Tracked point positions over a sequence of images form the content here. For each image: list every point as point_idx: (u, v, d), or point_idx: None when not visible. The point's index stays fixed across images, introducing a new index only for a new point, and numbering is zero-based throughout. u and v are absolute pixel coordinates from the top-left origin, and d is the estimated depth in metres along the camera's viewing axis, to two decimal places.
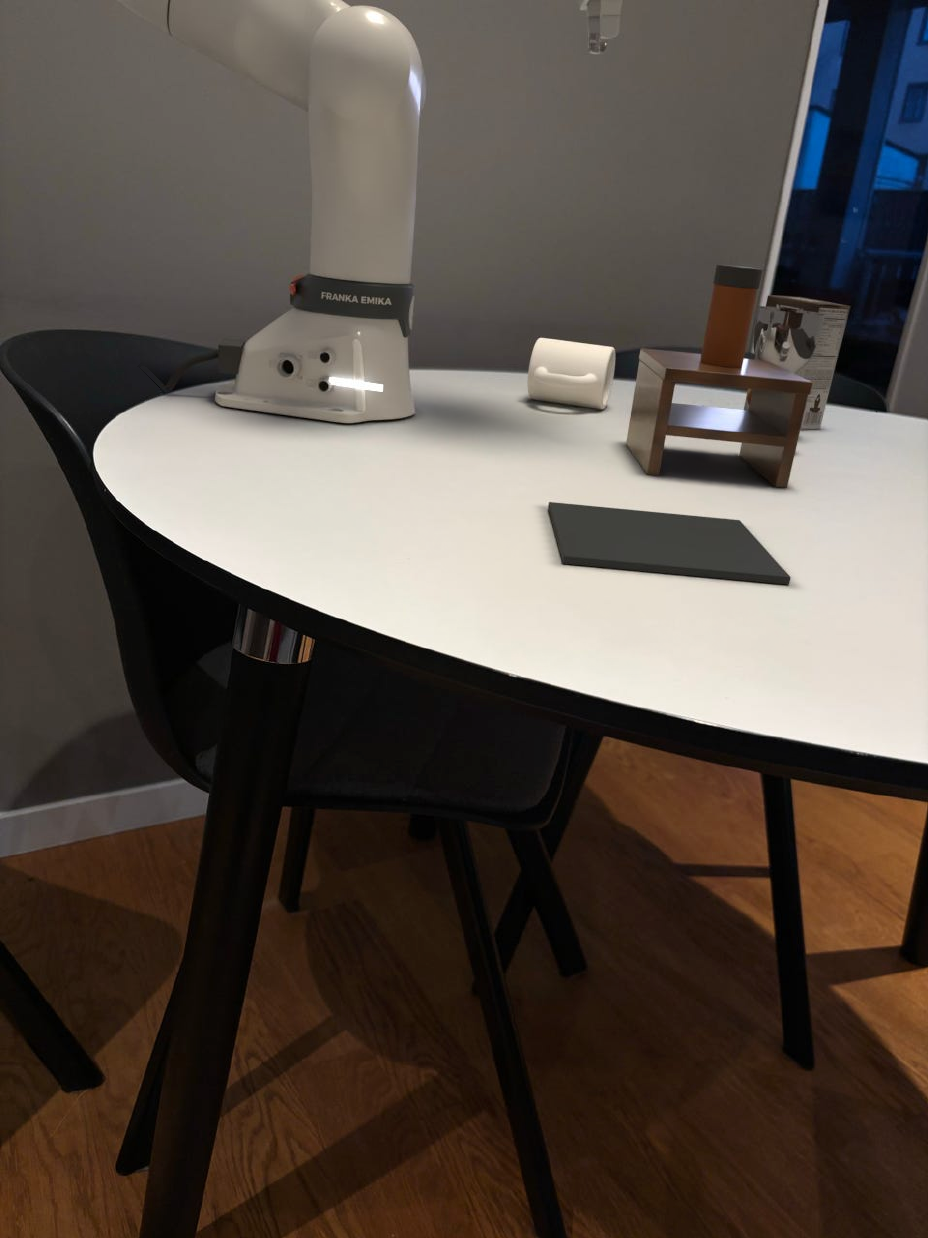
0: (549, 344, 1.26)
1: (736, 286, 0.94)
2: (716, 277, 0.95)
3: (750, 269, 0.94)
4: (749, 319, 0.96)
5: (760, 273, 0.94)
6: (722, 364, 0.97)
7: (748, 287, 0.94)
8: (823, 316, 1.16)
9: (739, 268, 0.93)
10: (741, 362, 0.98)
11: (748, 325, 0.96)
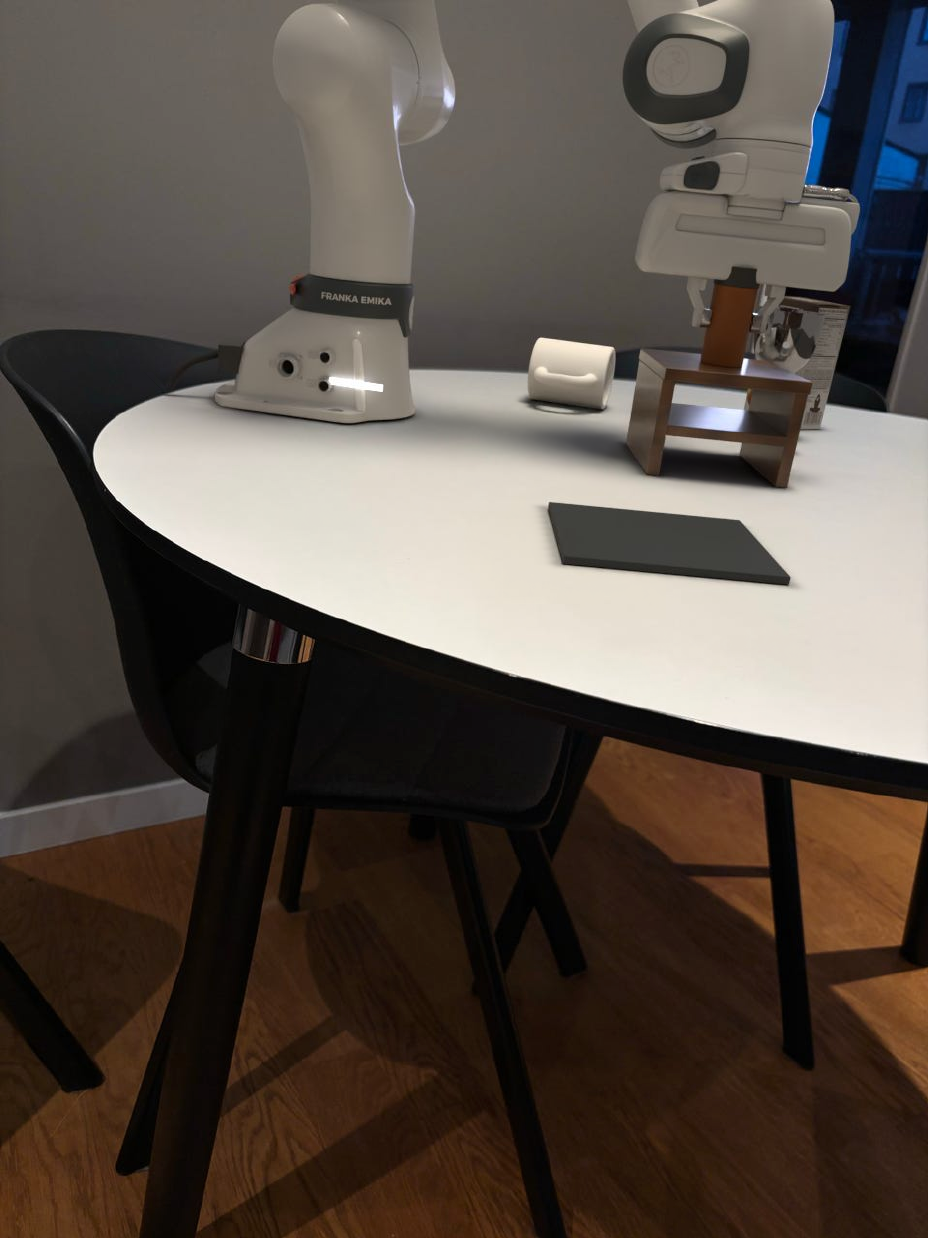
0: (549, 344, 1.26)
1: (736, 286, 0.94)
2: None
3: (750, 269, 0.94)
4: (749, 319, 0.96)
5: None
6: (722, 364, 0.97)
7: (748, 287, 0.94)
8: (823, 316, 1.16)
9: (739, 268, 0.93)
10: (741, 362, 0.98)
11: (748, 325, 0.96)
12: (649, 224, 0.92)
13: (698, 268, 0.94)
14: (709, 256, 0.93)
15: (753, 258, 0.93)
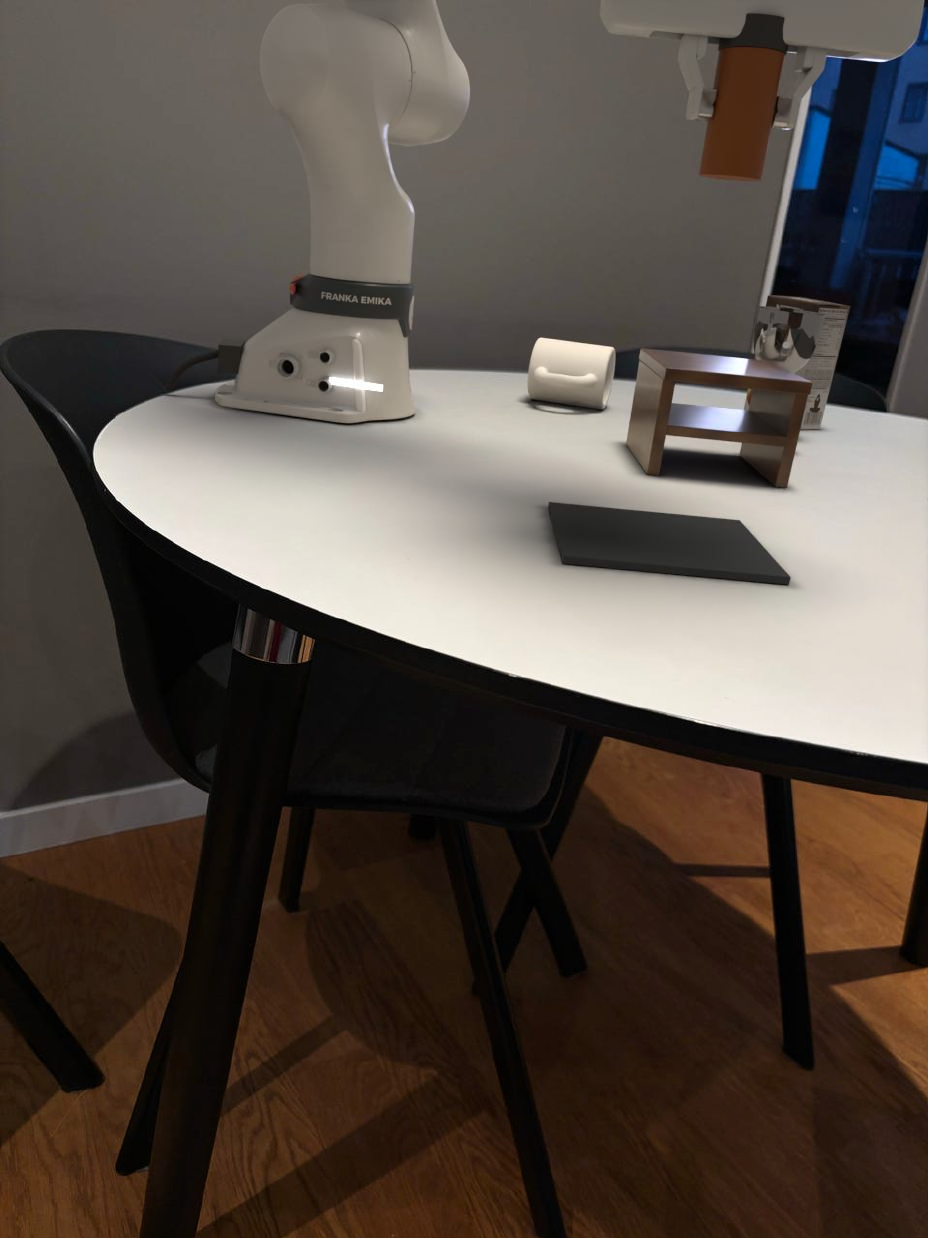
0: (549, 344, 1.26)
1: (753, 45, 0.62)
2: None
3: (774, 16, 0.61)
4: (773, 102, 0.64)
5: None
6: (732, 172, 0.65)
7: (771, 47, 0.62)
8: (823, 316, 1.16)
9: (758, 15, 0.61)
10: (760, 171, 0.65)
11: (771, 111, 0.64)
12: None
13: (695, 16, 0.61)
14: None
15: (778, 0, 0.61)
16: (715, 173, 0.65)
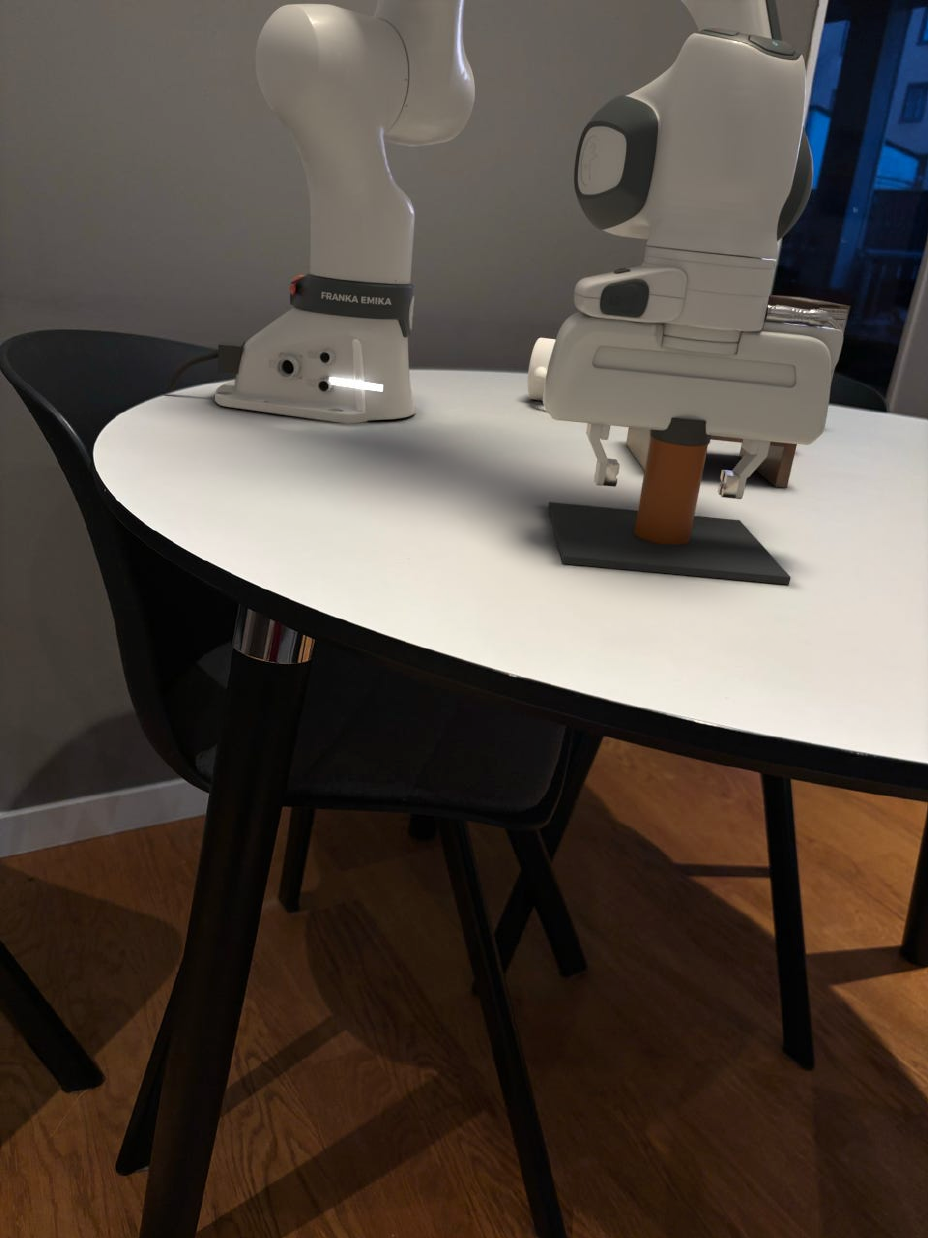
0: (549, 344, 1.26)
1: (678, 443, 0.70)
2: None
3: (696, 422, 0.69)
4: (697, 484, 0.72)
5: None
6: (662, 542, 0.73)
7: (694, 445, 0.70)
8: None
9: (682, 421, 0.69)
10: (687, 537, 0.73)
11: (696, 491, 0.72)
12: (556, 360, 0.68)
13: (625, 416, 0.69)
14: (639, 400, 0.69)
15: (698, 404, 0.69)
16: (647, 540, 0.73)
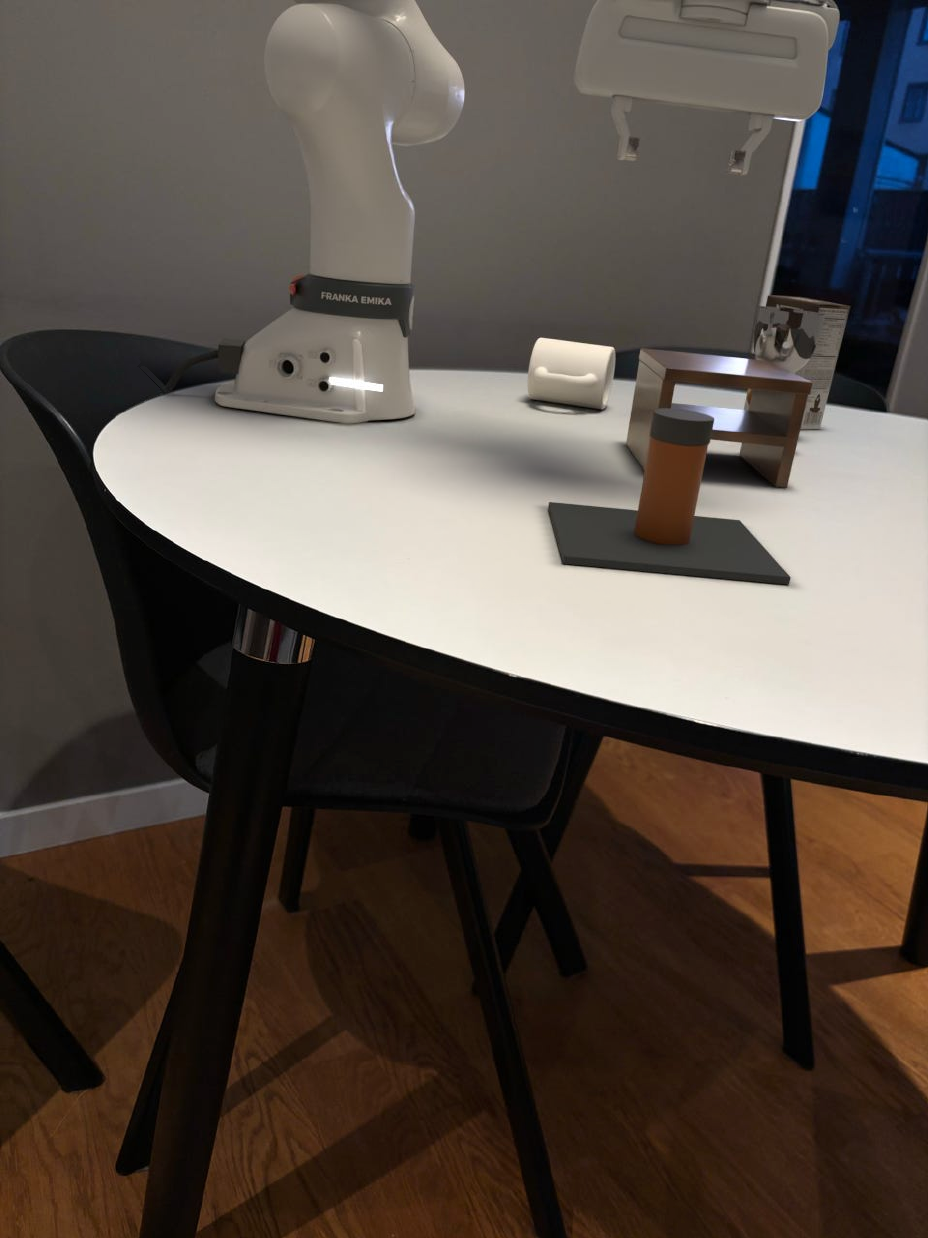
0: (549, 344, 1.26)
1: (678, 443, 0.70)
2: (652, 428, 0.71)
3: (696, 422, 0.69)
4: (697, 484, 0.72)
5: (711, 425, 0.70)
6: (662, 542, 0.73)
7: (694, 445, 0.70)
8: (823, 316, 1.16)
9: (682, 421, 0.69)
10: (687, 537, 0.73)
11: (696, 491, 0.72)
12: (587, 28, 0.77)
13: (646, 85, 0.79)
14: (659, 69, 0.79)
15: (711, 74, 0.79)
16: (647, 540, 0.73)
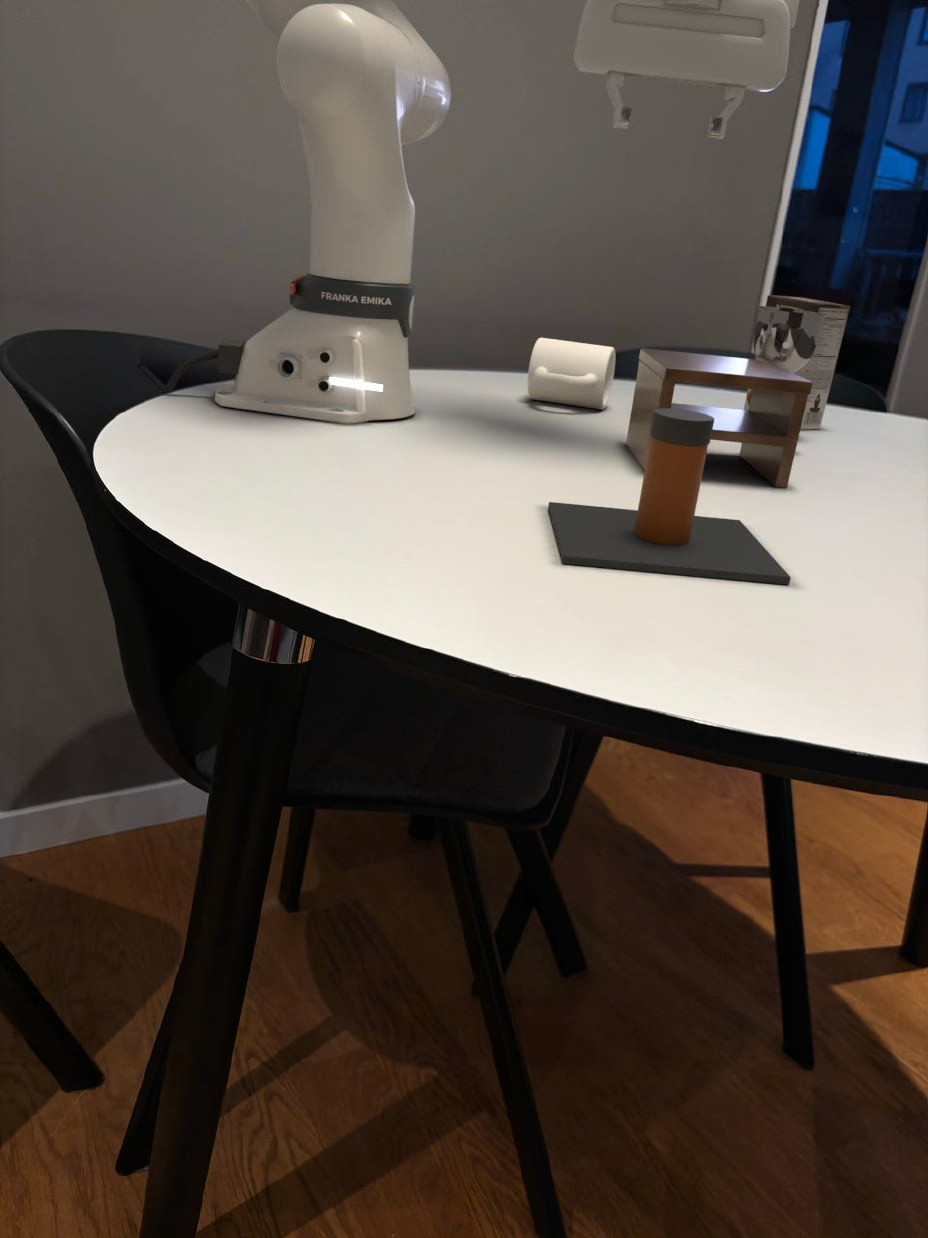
0: (549, 343, 1.26)
1: (678, 443, 0.70)
2: (652, 428, 0.71)
3: (696, 422, 0.69)
4: (697, 484, 0.72)
5: (711, 425, 0.70)
6: (662, 542, 0.73)
7: (694, 445, 0.70)
8: (823, 316, 1.16)
9: (682, 421, 0.69)
10: (687, 537, 0.73)
11: (696, 491, 0.72)
12: (585, 14, 0.91)
13: (636, 62, 0.92)
14: (646, 48, 0.92)
15: (691, 51, 0.92)
16: (647, 540, 0.73)
